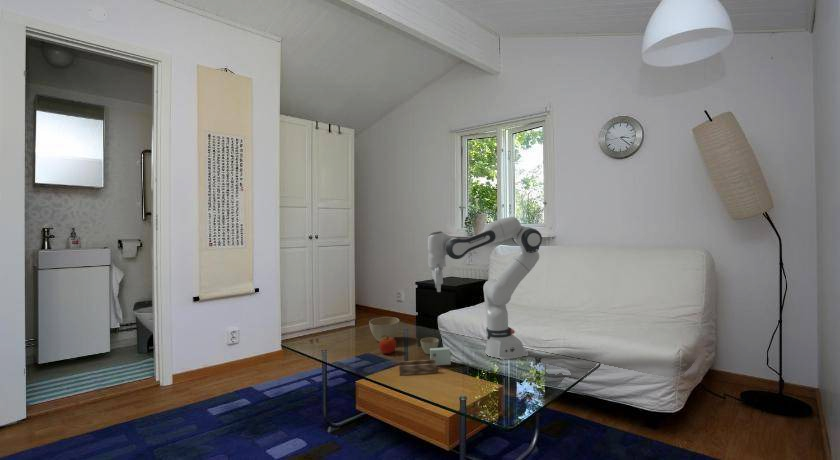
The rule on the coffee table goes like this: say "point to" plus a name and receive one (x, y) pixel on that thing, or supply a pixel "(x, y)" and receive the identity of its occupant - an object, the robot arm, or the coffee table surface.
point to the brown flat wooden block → (417, 367)
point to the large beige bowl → (384, 327)
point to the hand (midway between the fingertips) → (438, 289)
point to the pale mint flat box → (440, 355)
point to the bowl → (429, 344)
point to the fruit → (387, 344)
